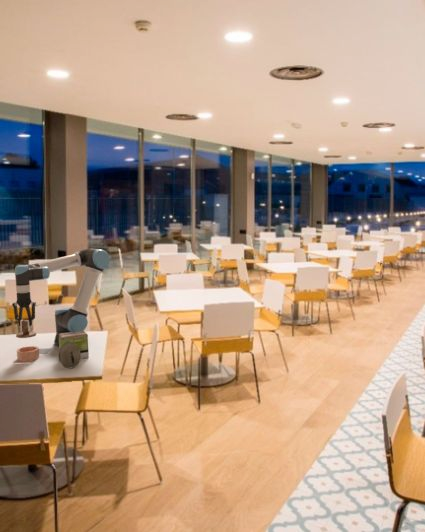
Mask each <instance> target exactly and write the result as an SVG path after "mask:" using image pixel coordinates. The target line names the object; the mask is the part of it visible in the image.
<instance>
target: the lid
mask: <svg viewBox="0 0 425 532" xmlns="http://www.w3.org/2000/svg"><path fill="white" fill-rule="evenodd" d="M22 320H23V321H22V328H23V332H19V333H16V334H15V337H16V338H18V339H27V338H29V339H30V338H33V337H36V336H37V332H35V331H30V332H28V320H29V319H26V320H25V319H22Z"/></svg>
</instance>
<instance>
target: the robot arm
mask: <svg viewBox="0 0 425 532" xmlns="http://www.w3.org/2000/svg"><path fill="white" fill-rule="evenodd" d="M110 263H111V257H110V254H109V253H108V252H107V251H106V250H104V249H100V248H91V247H90V248H89V247H88V248H85V249H82V250H78V251H75V252H73V254H69V255H65V256H61V257H57V258H53V259H49V260H45V261H41V262H40V261H39V262H36V263H32V264H20V265H16V266H15V268H14V276H15V277H14V278H15V289H16V301H15V302H13V303H11V306H12V307H13V313H14V319H15V321H18V326H19V327H20V333H22V332H23V328H22V321H23V320H24V319H23V310H24V309H25V310H26V313H27V315H26V316H27V318H28V319H27V320H28V332H32V325H33V320H35V319H36V304H37V302H36V301H32V298H31V288H30V287H31V285H30V284H31V283H30V282H32V281H41V280H47V279H49V278H50V273H53V272H57V271H61V270H65V269H68V268H72V267H76V266H77V267H78V268H79V267H84V268H85V273H84V275H83V279H82V280H81V283H80V286H79V288H78V289H79V290H78V293H77V294H76V298H75V300H74V303H73V305H72V306H71V307H65V308H64V307H63V308H59V309H55V311H54V320H55V330H56V331H55V332H56V333H55V337H54V341H53V343H54V344H53V345H54V346H56V347H59V334H61V333H69V332H76V331H85V330H86V329H87V326H88V323H89V321H88V319H87V317H88V311H87V310H88V307H89V304H90V301H91V299H92V296H93V293H94V290H95V288H96V284H97V282H98V279H99V277H100V275H101V274H103V273H104V271H105V269H106V268H108V266H109V265H110ZM30 305H31V309H30ZM18 307H19V308H18ZM18 311H19V312H18Z"/></svg>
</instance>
